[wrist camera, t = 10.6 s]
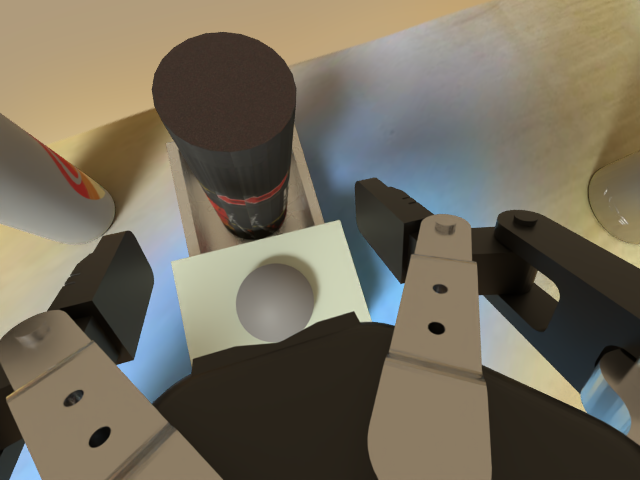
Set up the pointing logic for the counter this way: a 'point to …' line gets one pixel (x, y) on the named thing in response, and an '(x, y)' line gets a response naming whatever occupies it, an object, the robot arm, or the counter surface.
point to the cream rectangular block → (267, 289)
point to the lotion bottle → (48, 191)
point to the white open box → (204, 221)
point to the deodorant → (232, 125)
